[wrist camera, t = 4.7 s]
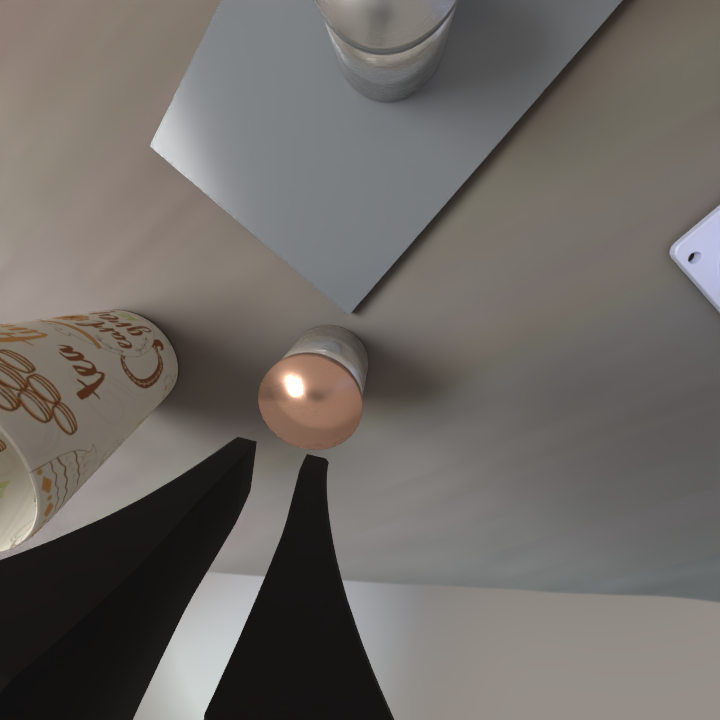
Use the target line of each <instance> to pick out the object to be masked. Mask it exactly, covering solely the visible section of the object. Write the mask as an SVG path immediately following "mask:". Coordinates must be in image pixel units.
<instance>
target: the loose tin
mask: <svg viewBox="0 0 720 720" xmlns="http://www.w3.org/2000/svg"><path fill="white" fill-rule="evenodd" d="M367 370H368V356H367V353H366V350H365V348H364V346H363V344H362V343H361V341H360V340H359V339H358V338H357V337H356V336H355V335H354V334H353V333H351V332H350V331H348V330H346V329H344V328H342V327H338V326H333V325H322V326H317V327H314V328H312V329H310V330H308V331H307V332H305V333H304V334H303V335H302V336H301V337H300V338H299V339H298V340H297V342H296V343H295V344H294V345H293V346H292V348H291V349H290V350H289V351H288V352H287V353H286V355H285V356H284V357H283V358H282V359H281V360H280V361H278V362H277V363H276V364H275V365H274V366H273V367H272V368H271V369H270V370H269V371H268V372H267V374H266V375H265V376H264V378H263V380H262V382H261V384H260V388H259V393H258V403H259V409H260V412H261V415H262V417H263V419H264V421H265V422H266V424H267V425H268V427H269V428H270V429H271V430H272V431H273V432H274V433H275V434H276V435H277V436H278V437H279V438H281V439H282V440H284V441H286V442H287V443H289V444H291V445H294V446H297V447H300V448H304V449H313V450H318V449H326V448H331V447H334V446H336V445H338V444H340V443H342V442H344V441H345V440H346V439H348V438H349V437H350V436H351V435H352V434H353V433H354V431H355V430H356V428H357V426H358V424H359V422H360V418H361V414H362V408H363V391H364V386H365V381H366V375H367Z"/></svg>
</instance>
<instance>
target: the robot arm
mask: <svg viewBox="0 0 720 720" xmlns="http://www.w3.org/2000/svg"><path fill="white" fill-rule="evenodd" d="M691 253H694V258H693V259H692V260H691V261H690V262H689V261H688V257H689V256H690V254H691ZM670 256H671V258H672V259H673V260H674V261H675V263H676V264H677V265H678V266H679V267H680V268H681V269H682V271H683V272H684V273H685V274H686V275H687V276H688V277H689V279H690V280H691V281H692V282H693V283H694V284H695V285H696V286H697V288H698V289H699V290H700V291H701V292H702V293H703V294H704V296H705V297H706V298H707V299H708V300H709V301H710V302H711V303H712V305H713V306H714V307H715V308H716V309H717V310H718V311H719V313H720V205H719V206H718V207H717V208H715V209H714V210H713V211H712V212H711V213H710V214H708V215H707V216H706V217H705V218H704V219H702V220H701V221H700V222H699V223H698V224H696V225H695V226H694V227H693V228H692V229H690V230H689V231H688V232H687V233H686V234H684V235H683V236H682V237H681V238H680V239H678V240H677V241H676V242H675V243H674V244H673V245H672V247H671V249H670ZM256 443H257V442H256V441H252V440H248V439H244V438H240V437H237V438H236V439H234V440H232V441H231V442H229V443H228V444H227V445H225V446H224V447H222V448H221V449H219V450H218V451H217V452H215V453H214V454H212V455H211V456H209V457H208V458H206V459H205V460H203V461H202V462H200V463H199V464H197V465H196V466H194V467H193V468H191V469H190V470H188V471H187V472H185V473H184V474H182V475H180V476H179V477H177V478H176V479H174V480H172V481H171V482H169V483H167V484H166V485H164V486H162V487H160V488H159V489H157V490H155V491H154V492H152V493H150V494H149V495H147V496H145V497H143V498H141V499H140V500H138V501H136V502H134V503H132V504H130V505H128V506H126V507H124V508H122V509H120V510H119V511H117V512H115V513H113V514H111V515H109V516H106V517H104V518H102V519H100V520H98V521H96V522H94V523H91V524H89V525H87V526H84V527H82V528H80V529H78V530H75V531H73V532H71V533H68V534H66V535H64V536H61V537H59V538H57V539H55V540H52V541H50V542H47V543H45V544H42V545H40V546H37V547H34V548H32V549H29V550H27V551H24V552H22V553H19V554H16V555H13V556H11V557H8V558H5V559H3V560H0V720H133V718H134V716H135V713H136V711H137V709H138V707H139V704H140V703H141V700H142V698H143V696H144V694H145V692H146V690H147V688H148V686H149V683H150V681H151V679H152V677H153V675H154V673H155V671H156V669H157V666H158V664H159V662H160V660H161V658H162V656H163V654H164V652H165V650H166V648H167V646H168V643H169V642H170V639H171V637H172V635H173V633H174V631H175V629H176V627H177V625H178V623H179V621H180V619H181V617H182V615H183V613H184V611H185V609H186V607H187V605H188V603H189V602H190V600H191V598H192V596H193V594H194V593H195V591H196V589H197V588H198V586H199V584H200V583H201V581H202V579H203V577H204V576H205V574H206V572H207V571H208V569H209V567H210V566H211V564H212V562H213V561H214V559H215V557H216V556H217V554H218V552H219V551H220V549H221V547H222V546H223V544H224V542H225V540H226V539H227V537H228V535H229V534H230V532H231V530H232V528H233V527H234V525H235V523H236V522H237V519H238V517H239V515H240V513H241V511H242V509H243V506H244V504H245V502H246V500H247V497H248V495H249V493H250V489H251V482H252V474H253V466H254V458H255V451H256ZM327 468H328V461H327V460H326V459H325V458H321V457H317V456H313V455H309V454H307V455H306V457H305V459H304V461H303V464H302V466H301V468H300V471H299V475H298V479H297V482H296V486H295V490H294V494H293V498H292V502H291V506H290V509H289V513H288V517H287V521H286V524H285V527H284V531H283V534H282V537H281V539H280V542H279V544H278V547H277V549H276V552H275V554H274V557H273V559H272V562H271V564H270V566H269V569H268V571H267V574H266V576H265V579H264V581H263V584H262V586H261V588H260V591H259V593H258V595H257V598H256V600H255V603H254V605H253V607H252V609H251V612H250V614H249V616H248V619H247V621H246V623H245V626H244V628H243V630H242V633H241V635H240V637H239V640H238V642H237V644H236V646H235V648H234V651H233V653H232V655H231V657H230V660H229V662H228V664H227V666H226V668H225V670H224V673H223V675H222V677H221V679H220V682H219V684H218V686H217V688H216V690H215V693H214V695H213V697H212V699H211V701H210V703H209V705H208V708H207V710H206V712H205V715H204V720H394V718H393V716H392V713H391V711H390V709H389V707H388V705H387V702H386V700H385V698H384V695H383V693H382V691H381V689H380V686H379V684H378V681H377V679H376V677H375V675H374V672H373V670H372V667H371V664H370V662H369V659H368V657H367V654H366V652H365V649H364V647H363V644H362V641H361V638H360V636H359V633H358V630H357V627H356V625H355V621H354V618H353V615H352V612H351V609H350V606H349V603H348V600H347V597H346V593H345V590H344V586H343V582H342V579H341V575H340V571H339V567H338V563H337V559H336V554H335V549H334V545H333V539H332V533H331V527H330V521H329V512H328V503H327Z"/></svg>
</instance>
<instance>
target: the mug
mask: <svg viewBox="0 0 720 720" xmlns="http://www.w3.org/2000/svg"><path fill="white" fill-rule="evenodd" d="M177 376H178V362H177V358H176V354H175V352H174V349H173V347H172V345H171V344H170V342H169V340H168V339H167V338H166V336H165V335H164V334H163V333H162V332H161V331H160V330H159V329H158V328H157V327H156V326H155V325H154V324H153V323H151V322H150V321H148V320H147V319H145V318H143V317H141V316H139V315H137V314H134V313H131V312H127V311H121V310H108V311H99V312H92V313H84V314H77V315H69V316H61V317H54V318H46V319H39V320H31V321H24V322H16V323H9V324H1V325H0V552H2V551H6V550H10V549H12V548H14V547H17V546H18V545H20V544H22V543H23V542H25V541H26V540H28V539H29V538H31V537H32V536H33V535H34V534H35V533H37V532H38V531H39V530H40V529H41V528H42V527H43V526H44V525H45V524H46V523H47V522H48V521H49V520H50V519H51V518H52V517H53V516H54V515H55V514H56V513H57V512H58V511H59V510H60V509H61V508H62V507H63V505H64V504H65V503H66V502H67V501H68V500H69V499H70V498H71V497H72V496H73V495H74V494H75V493H76V492H77V491H78V490H79V489H80V487H81V486H82V485H83V484H84V483H85V482H86V481H87V480H88V479H89V478H90V477H91V476H92V475H93V474H94V473H95V472H96V471H97V469H98V468H99V467H100V466H101V465H102V464H103V463H104V462H105V461H106V460H107V459H108V458H109V457H110V456H111V455H112V454H113V453H114V452H115V450H116V449H117V448H118V447H119V446H120V445H121V444H122V443H123V442H124V441H125V440H126V439H127V438H128V437H129V436H130V435H131V434H132V432H133V431H134V430H135V429H136V428H137V427H138V426H139V425H140V424H141V423H142V422H143V421H144V420H145V419H146V418H147V417H148V416H149V414H150V413H151V412H152V411H153V410H154V409H155V408H156V407H157V406H158V405H159V404H160V403H161V402H162V401H163V400H164V399H165V397H166V396H167V395H168V394H169V393H170V392H171V390H172V389H173V387H174V385H175V383H176V380H177Z"/></svg>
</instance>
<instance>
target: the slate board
mask: <svg viewBox="0 0 720 720" xmlns="http://www.w3.org/2000/svg"><path fill="white" fill-rule="evenodd" d="M621 2H622V0H458V2H457V5H456V8H455V12H454V15H453V19H452V22H451V26H450V29H449V33H448V36H447V40H446V43H445V47H444V50H443V54H442V57H441V59H440V62H439V64H438V66H437V68H436V70H435V72H434V73H433V75H432V76H431V78H430V79H429V80H428V82H427V83H426V84H425V85H424V86H423V87H422V88H421V89H420V90H419V91H417V92H416V93H415V94H413V95H412V96H410V97H408V98H406V99H403V100H401V101H397V102H392V103H383V102H377V101H373V100H370V99H368V98H366V97H364V96H363V95H361V94H360V93H359V92H357V91H356V90H355V89H354V88H353V87H352V86H351V84H350V83H349V82H348V80H347V79H346V77H345V76H344V74H343V72H342V70H341V67H340V64H339V62H338V59H337V56H336V53H335V50H334V47H333V44H332V41H331V38H330V35H329V32H328V29H327V26H326V23H325V20H324V18H323V17H322V15H321V14H320V11H319V9H318V7H317V5H316V3H315V1H314V0H221V1H220V3H219V5H218V8H217V10H216V12H215V14H214V16H213V18H212V20H211V22H210V24H209V26H208V28H207V30H206V32H205V34H204V36H203V38H202V40H201V42H200V44H199V46H198V49H197V51H196V53H195V55H194V57H193V59H192V61H191V63H190V65H189V67H188V69H187V71H186V73H185V75H184V77H183V79H182V81H181V83H180V85H179V87H178V90H177V92H176V94H175V96H174V98H173V100H172V102H171V104H170V106H169V108H168V110H167V112H166V114H165V116H164V118H163V120H162V122H161V124H160V126H159V128H158V131H157V133H156V135H155V137H154V139H153V141H152V143H151V145H150V146H151V147H152V148H153V149H154V150H155V151H156V152H158V153H159V154H160V155H161V156H162V157H163V158H165V159H166V160H167V161H168V162H169V163H170V164H172V165H173V166H174V167H175V168H176V169H177V170H179V171H180V172H181V173H182V174H183V175H184V176H186V177H187V178H188V179H189V180H190V181H192V182H193V183H194V184H195V185H196V186H197V187H199V188H200V189H201V190H202V191H203V192H204V193H206V194H207V195H208V196H209V197H210V198H211V199H213V200H214V201H215V202H216V203H217V204H218V205H220V206H221V207H222V208H223V209H224V210H225V211H227V212H228V213H229V214H230V215H231V216H233V217H234V218H235V219H236V220H237V221H238V222H240V223H241V224H242V225H243V226H244V227H245V228H247V229H248V230H249V231H250V232H251V233H252V234H254V235H255V236H256V237H257V238H258V239H259V240H261V241H262V242H263V243H264V244H265V245H266V246H268V247H269V248H270V249H271V250H272V251H274V252H275V253H276V254H277V255H278V256H279V257H281V258H282V259H283V260H284V261H285V262H286V263H288V264H289V265H290V266H291V267H292V268H293V269H295V270H296V271H297V272H298V273H299V274H300V275H302V276H303V277H304V278H305V279H306V280H307V281H309V282H310V283H311V284H312V285H313V286H315V287H316V288H317V289H318V290H319V291H320V292H322V293H323V294H324V295H325V296H326V297H327V298H329V299H330V300H331V301H332V302H333V303H334V304H336V305H337V306H338V307H339V308H340V309H341V310H343V311H344V312H345V313H346V314H347V315H349V314H350V313H351V312H352V311H353V310H354V309H355V307H356V306H357V305H358V304H359V303H360V302H361V300H362V299H363V298H364V297H365V296H366V295H367V294H368V292H369V291H370V290H371V289H372V288H373V287H374V286H375V284H376V283H377V282H378V281H379V280H380V279H381V277H382V276H383V275H384V274H385V273H386V272H387V271H388V269H389V268H390V267H391V266H392V265H393V264H394V263H395V261H396V260H397V259H398V258H399V257H400V256H401V254H402V253H403V252H404V251H405V250H406V249H407V248H408V246H409V245H410V244H411V243H412V242H413V241H414V240H415V238H416V237H417V236H418V235H419V234H420V233H421V231H422V230H423V229H424V228H425V227H426V226H427V225H428V223H429V222H430V221H431V220H432V219H433V218H434V217H435V215H436V214H437V213H438V212H439V211H440V210H441V208H442V207H443V206H444V205H445V204H446V203H447V202H448V200H449V199H450V198H451V197H452V196H453V195H454V194H455V192H456V191H457V190H458V189H459V188H460V187H461V185H462V184H463V183H464V182H465V181H466V180H467V179H468V177H469V176H470V175H471V174H472V173H473V172H474V171H475V169H476V168H477V167H478V166H479V165H480V164H481V162H482V161H483V160H484V159H485V158H486V157H487V156H488V154H489V153H490V152H491V151H492V150H493V149H494V148H495V146H496V145H497V144H498V143H499V142H500V141H501V139H502V138H503V137H504V136H505V135H506V134H507V133H508V131H509V130H510V129H511V128H512V127H513V126H514V125H515V123H516V122H517V121H518V120H519V119H520V118H521V116H522V115H523V114H524V113H525V112H526V111H527V110H528V108H529V107H530V106H531V105H532V104H533V103H534V102H535V100H536V99H537V98H538V97H539V96H540V95H541V93H542V92H543V91H544V90H545V89H546V88H547V87H548V85H549V84H550V83H551V82H552V81H553V80H554V79H555V77H556V76H557V75H558V74H559V73H560V72H561V71H562V69H563V68H564V67H565V66H566V65H567V64H568V62H569V61H570V60H571V59H572V58H573V57H574V56H575V54H576V53H577V52H578V51H579V50H580V49H581V48H582V46H583V45H584V44H585V43H586V42H587V41H588V39H589V38H590V37H591V36H592V35H593V34H594V33H595V31H596V30H597V29H598V28H599V27H600V26H601V25H602V23H603V22H604V21H605V20H606V19H607V18H608V16H609V15H610V14H611V13H612V12H613V11H614V10H615V8H616V7H617V6H618V5H619V4H620V3H621Z"/></svg>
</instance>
